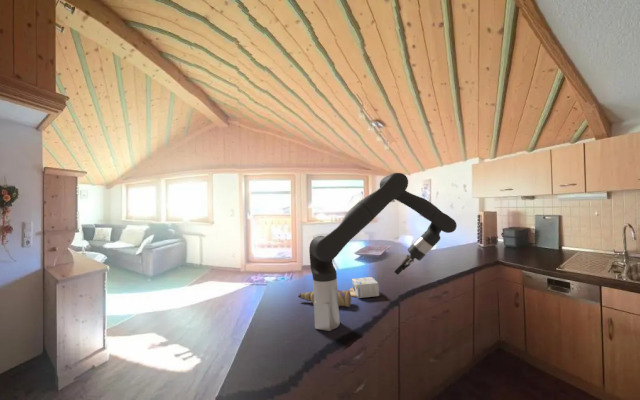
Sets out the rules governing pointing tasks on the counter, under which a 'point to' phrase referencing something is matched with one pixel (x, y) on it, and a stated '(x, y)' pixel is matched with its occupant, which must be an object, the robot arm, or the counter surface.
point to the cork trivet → (352, 293)
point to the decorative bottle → (343, 297)
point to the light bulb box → (365, 287)
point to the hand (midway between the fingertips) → (396, 273)
